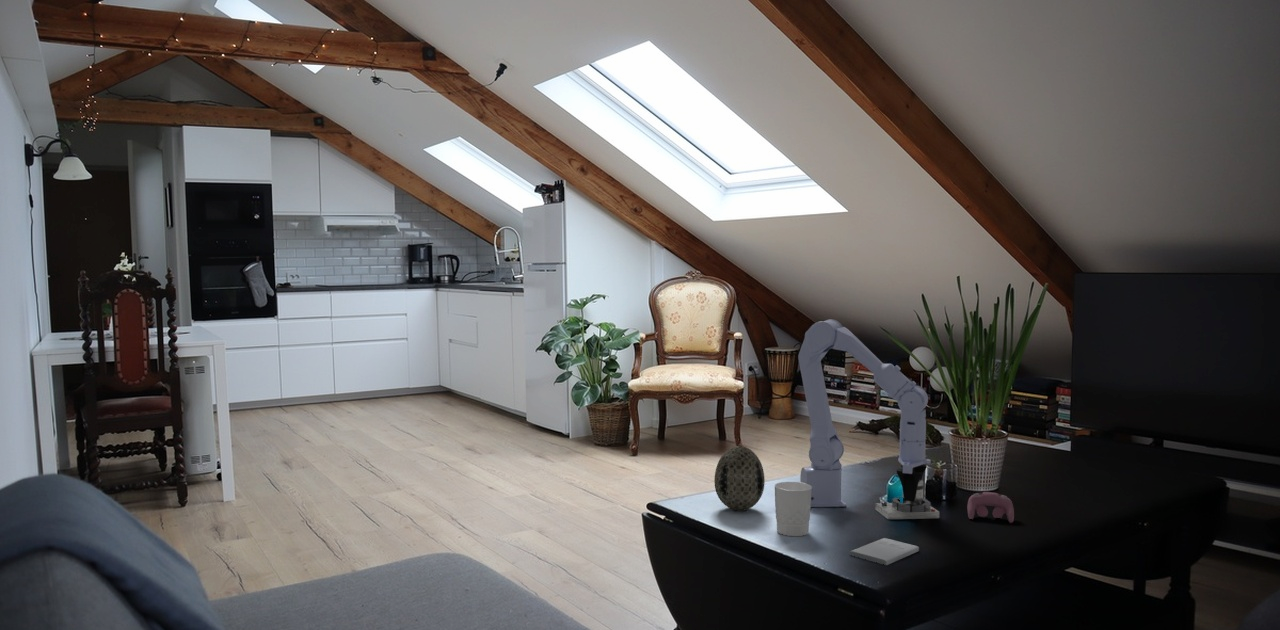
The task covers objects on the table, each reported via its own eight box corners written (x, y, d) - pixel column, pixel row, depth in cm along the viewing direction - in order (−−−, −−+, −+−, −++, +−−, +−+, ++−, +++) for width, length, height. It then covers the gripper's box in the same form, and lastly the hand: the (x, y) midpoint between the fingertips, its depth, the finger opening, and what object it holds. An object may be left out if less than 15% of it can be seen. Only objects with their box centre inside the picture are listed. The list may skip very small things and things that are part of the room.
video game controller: (1013, 526, 202) (1012, 495, 204) (1014, 522, 198) (1014, 491, 200) (966, 522, 205) (966, 492, 208) (967, 518, 201) (967, 487, 204)
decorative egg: (703, 509, 209) (704, 446, 208) (734, 500, 217) (734, 439, 216) (744, 519, 201) (745, 454, 200) (774, 509, 209) (775, 446, 208)
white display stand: (887, 519, 202) (888, 506, 201) (875, 509, 209) (875, 497, 209) (939, 518, 203) (939, 505, 202) (924, 508, 211) (925, 496, 210)
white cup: (802, 539, 186) (803, 492, 186) (768, 533, 191) (768, 487, 190) (816, 530, 193) (817, 484, 193) (782, 524, 197) (783, 480, 197)
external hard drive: (849, 558, 177) (882, 544, 186) (886, 568, 171) (919, 553, 180) (849, 550, 177) (882, 536, 185) (886, 560, 171) (919, 545, 180)
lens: (920, 509, 203) (920, 483, 202) (899, 506, 205) (900, 480, 205) (925, 504, 207) (925, 478, 206) (905, 501, 209) (905, 476, 209)
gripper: (926, 447, 197) (925, 507, 198) (934, 435, 210) (933, 492, 211) (893, 444, 200) (892, 504, 201) (903, 433, 213) (902, 489, 214)
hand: (911, 498), depth 206 cm, fingers closed on lens, 4 cm apart
